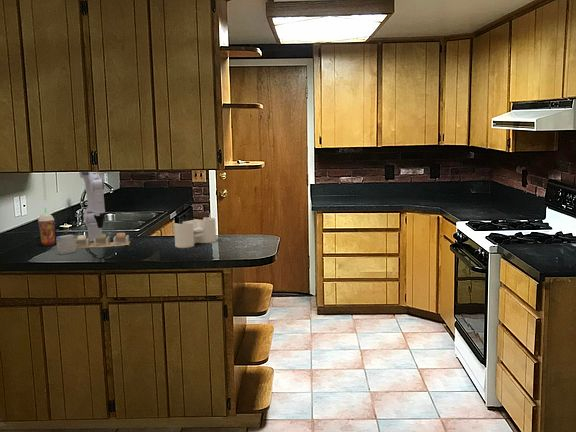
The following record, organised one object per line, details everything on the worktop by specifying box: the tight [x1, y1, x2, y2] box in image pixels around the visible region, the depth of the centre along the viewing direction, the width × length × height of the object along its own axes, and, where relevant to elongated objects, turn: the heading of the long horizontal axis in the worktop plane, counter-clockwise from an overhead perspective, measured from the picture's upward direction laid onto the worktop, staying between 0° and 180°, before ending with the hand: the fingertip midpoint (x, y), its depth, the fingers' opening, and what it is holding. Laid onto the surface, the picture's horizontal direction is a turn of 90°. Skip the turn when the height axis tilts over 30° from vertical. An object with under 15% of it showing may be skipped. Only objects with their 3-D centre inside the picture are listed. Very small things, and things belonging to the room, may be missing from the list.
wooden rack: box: [75, 234, 131, 250], centre depth 325 cm, size 12×28×4 cm, turn 100°
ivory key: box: [76, 234, 87, 240], centre depth 323 cm, size 4×4×4 cm
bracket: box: [173, 217, 217, 249], centre depth 320 cm, size 25×10×12 cm, turn 143°
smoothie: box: [37, 207, 56, 246], centre depth 333 cm, size 8×8×20 cm
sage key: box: [97, 233, 107, 239], centre depth 325 cm, size 4×4×4 cm
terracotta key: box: [116, 232, 126, 238], centre depth 327 cm, size 4×4×4 cm
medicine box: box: [55, 234, 77, 256], centre depth 307 cm, size 8×4×9 cm, turn 141°
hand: (100, 227), depth 324 cm, fingers closed
